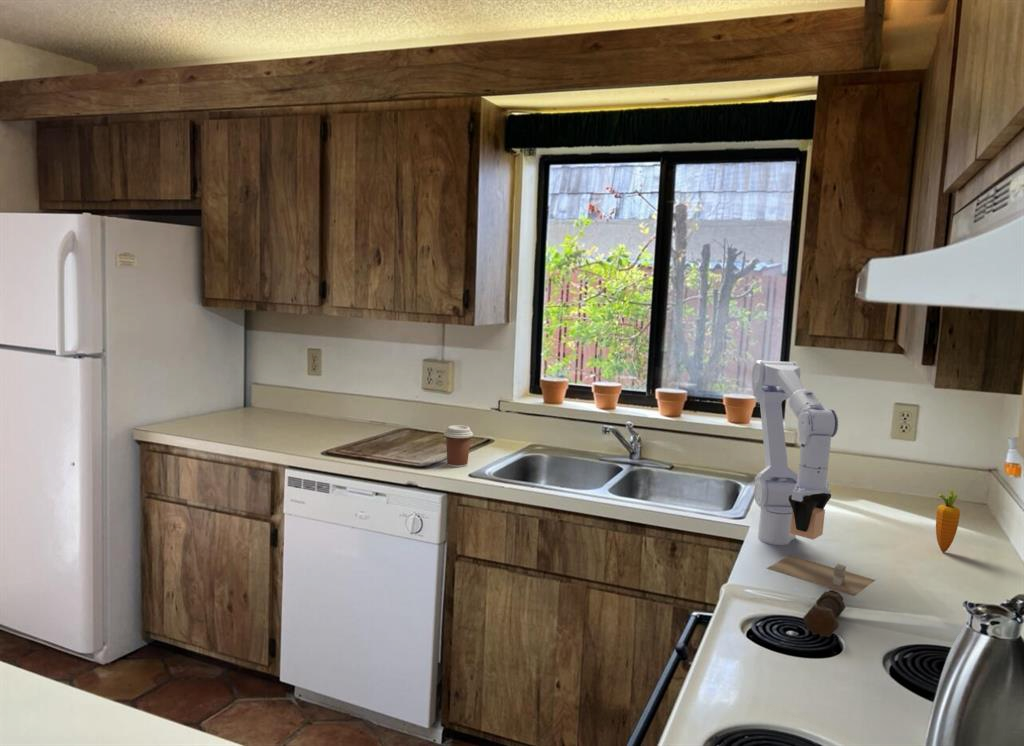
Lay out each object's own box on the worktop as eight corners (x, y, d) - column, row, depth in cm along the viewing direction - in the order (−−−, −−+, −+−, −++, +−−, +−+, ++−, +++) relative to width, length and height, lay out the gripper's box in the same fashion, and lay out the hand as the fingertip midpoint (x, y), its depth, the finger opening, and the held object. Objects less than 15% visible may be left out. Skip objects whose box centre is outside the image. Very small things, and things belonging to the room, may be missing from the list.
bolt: (836, 617, 147) (822, 645, 134) (813, 599, 149) (797, 624, 136) (855, 596, 145) (843, 622, 132) (832, 577, 147) (817, 601, 134)
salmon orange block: (799, 528, 167) (802, 503, 166) (822, 534, 163) (825, 508, 163) (789, 533, 163) (792, 507, 162) (813, 539, 160) (815, 513, 159)
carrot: (948, 557, 178) (956, 495, 176) (927, 550, 182) (934, 489, 180) (959, 554, 181) (967, 492, 179) (938, 547, 185) (946, 487, 183)
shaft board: (789, 561, 170) (791, 539, 170) (874, 586, 158) (876, 563, 158) (765, 574, 162) (768, 552, 161) (853, 602, 149) (856, 578, 149)
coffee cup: (460, 460, 246) (462, 423, 244) (477, 466, 239) (479, 428, 237) (437, 463, 240) (438, 425, 239) (453, 469, 233) (454, 431, 232)
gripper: (818, 475, 153) (811, 540, 155) (845, 464, 164) (838, 525, 166) (784, 467, 158) (778, 530, 160) (812, 457, 169) (806, 517, 170)
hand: (806, 527), depth 163 cm, fingers closed on salmon orange block, 5 cm apart
